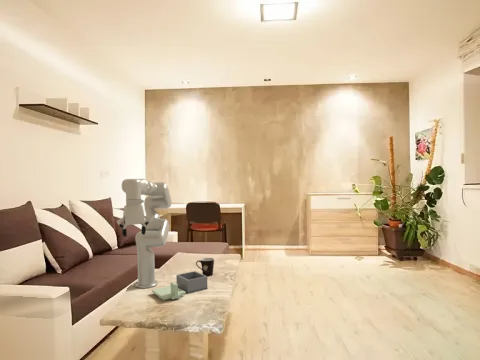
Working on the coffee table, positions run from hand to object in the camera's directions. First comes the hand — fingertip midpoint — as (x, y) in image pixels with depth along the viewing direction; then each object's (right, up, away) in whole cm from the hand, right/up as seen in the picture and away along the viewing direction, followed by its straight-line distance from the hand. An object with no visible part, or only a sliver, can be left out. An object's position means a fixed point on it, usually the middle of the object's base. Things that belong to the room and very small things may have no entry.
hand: (134, 235), depth 172 cm
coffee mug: (+34, -32, +39) cm, 61 cm away
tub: (+28, -32, +13) cm, 44 cm away
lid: (+18, -32, +1) cm, 37 cm away
